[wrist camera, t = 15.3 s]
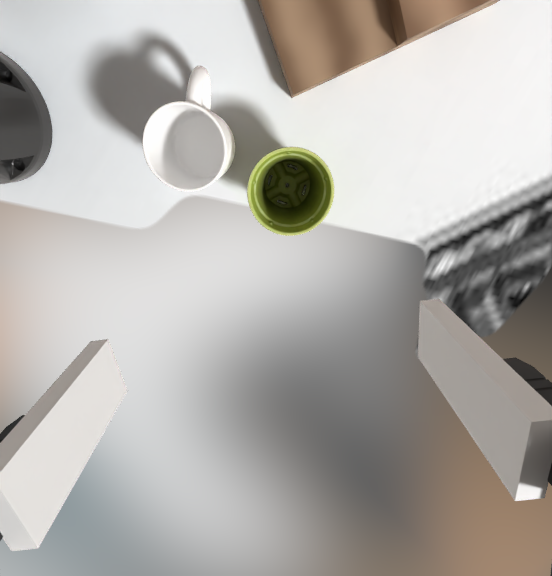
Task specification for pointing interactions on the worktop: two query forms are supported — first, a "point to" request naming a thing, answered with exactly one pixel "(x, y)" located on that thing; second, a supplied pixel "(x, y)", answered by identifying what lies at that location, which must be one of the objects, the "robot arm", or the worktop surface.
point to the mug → (189, 139)
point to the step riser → (350, 32)
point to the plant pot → (290, 191)
